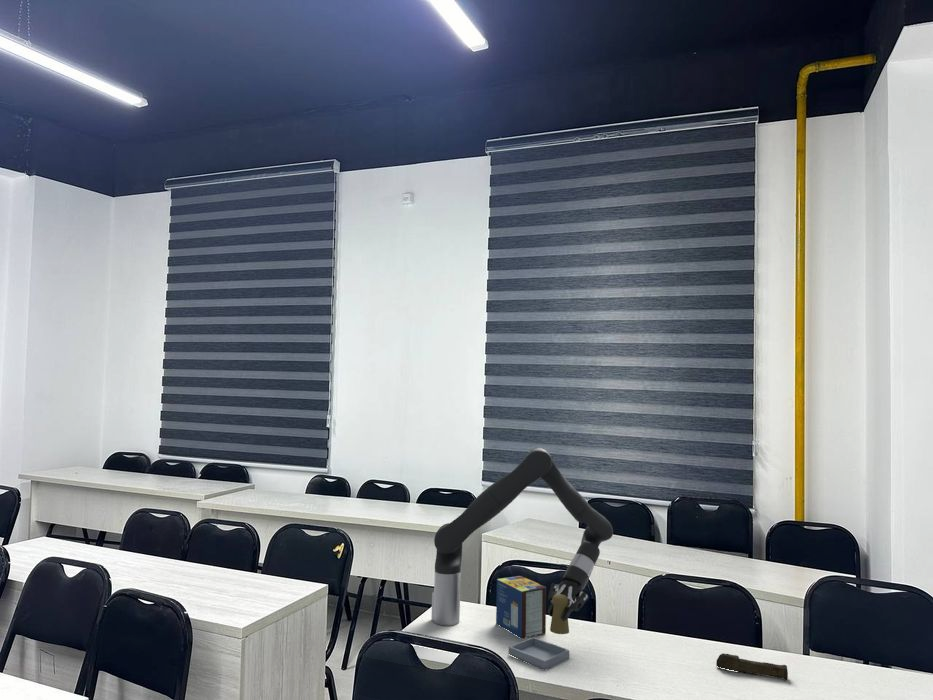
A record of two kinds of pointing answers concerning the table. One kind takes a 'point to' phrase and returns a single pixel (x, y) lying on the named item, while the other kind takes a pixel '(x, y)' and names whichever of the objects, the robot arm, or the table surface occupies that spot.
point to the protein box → (521, 606)
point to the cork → (559, 615)
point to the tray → (539, 653)
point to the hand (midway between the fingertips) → (556, 617)
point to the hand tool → (751, 666)
